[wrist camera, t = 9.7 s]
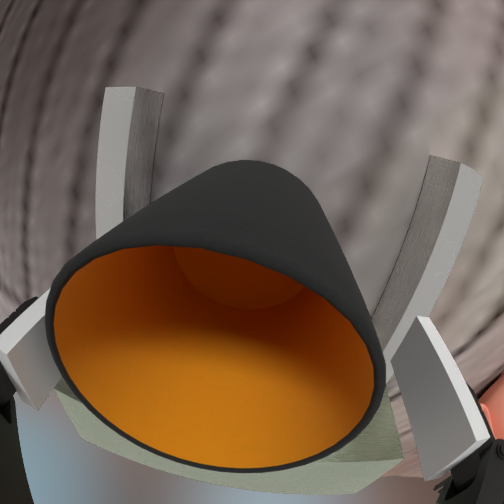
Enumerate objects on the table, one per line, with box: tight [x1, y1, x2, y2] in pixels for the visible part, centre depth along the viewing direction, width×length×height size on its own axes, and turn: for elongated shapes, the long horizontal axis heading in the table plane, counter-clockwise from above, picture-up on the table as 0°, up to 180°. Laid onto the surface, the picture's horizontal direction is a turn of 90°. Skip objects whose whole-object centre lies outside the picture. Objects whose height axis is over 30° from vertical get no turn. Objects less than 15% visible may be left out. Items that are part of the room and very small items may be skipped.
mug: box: [45, 160, 386, 473], centre depth 11 cm, size 8×12×10 cm
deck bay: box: [54, 87, 484, 495], centre depth 14 cm, size 23×22×7 cm
